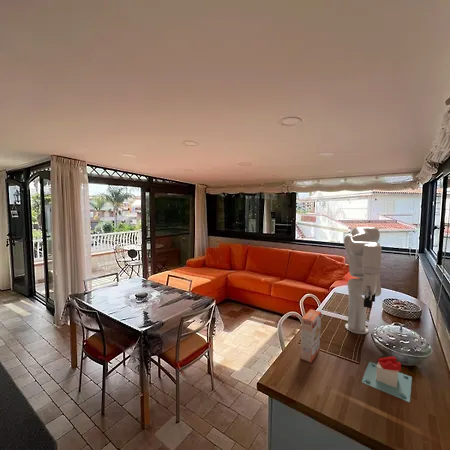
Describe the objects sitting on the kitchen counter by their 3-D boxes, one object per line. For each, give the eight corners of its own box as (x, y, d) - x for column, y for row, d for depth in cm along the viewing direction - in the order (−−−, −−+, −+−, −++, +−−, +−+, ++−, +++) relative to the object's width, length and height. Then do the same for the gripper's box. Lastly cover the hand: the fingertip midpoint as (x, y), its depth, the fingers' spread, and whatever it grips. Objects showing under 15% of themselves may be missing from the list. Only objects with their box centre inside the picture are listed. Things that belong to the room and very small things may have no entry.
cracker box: (312, 363, 112) (313, 321, 111) (299, 359, 116) (300, 317, 114) (320, 350, 123) (321, 311, 122) (309, 346, 127) (310, 308, 125)
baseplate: (369, 363, 112) (369, 360, 112) (411, 379, 102) (412, 375, 102) (361, 384, 98) (361, 380, 98) (409, 405, 88) (409, 400, 88)
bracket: (394, 363, 101) (394, 356, 101) (400, 371, 96) (401, 364, 96) (378, 361, 102) (378, 355, 102) (383, 369, 98) (383, 362, 97)
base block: (378, 371, 105) (379, 358, 105) (397, 378, 100) (398, 365, 100) (376, 380, 100) (376, 366, 99) (396, 388, 95) (397, 373, 95)
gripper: (365, 265, 122) (364, 296, 124) (358, 272, 109) (357, 308, 111) (382, 267, 118) (380, 300, 119) (377, 275, 104) (375, 312, 106)
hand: (369, 304), depth 115 cm, fingers open, 9 cm apart
